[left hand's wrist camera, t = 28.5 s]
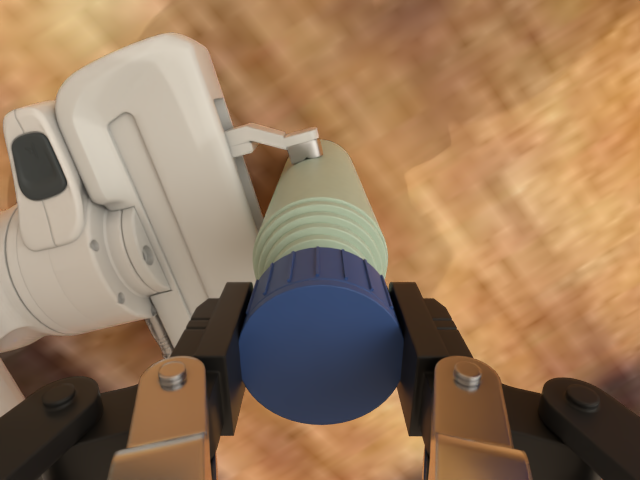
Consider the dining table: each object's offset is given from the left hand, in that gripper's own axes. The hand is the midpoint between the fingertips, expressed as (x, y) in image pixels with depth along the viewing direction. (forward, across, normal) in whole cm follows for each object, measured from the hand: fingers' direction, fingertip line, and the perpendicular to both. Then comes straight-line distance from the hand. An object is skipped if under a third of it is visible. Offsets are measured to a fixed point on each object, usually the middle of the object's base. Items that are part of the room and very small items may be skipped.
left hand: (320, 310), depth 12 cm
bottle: (+19, 0, 0) cm, 19 cm away
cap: (-2, 0, 0) cm, 2 cm away
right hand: (+12, -1, 0) cm, 12 cm away
